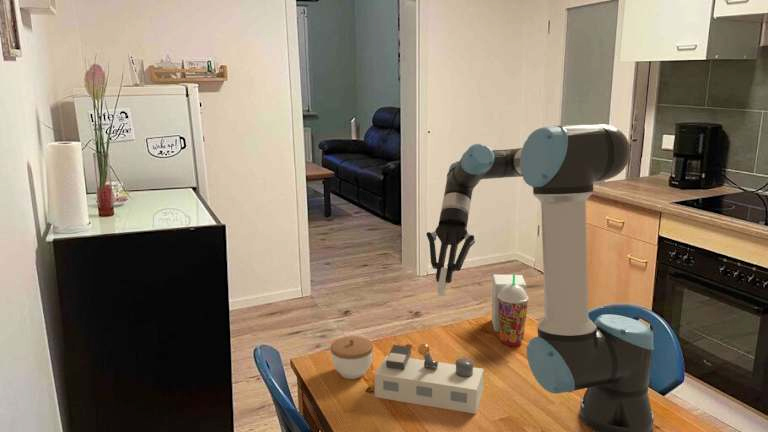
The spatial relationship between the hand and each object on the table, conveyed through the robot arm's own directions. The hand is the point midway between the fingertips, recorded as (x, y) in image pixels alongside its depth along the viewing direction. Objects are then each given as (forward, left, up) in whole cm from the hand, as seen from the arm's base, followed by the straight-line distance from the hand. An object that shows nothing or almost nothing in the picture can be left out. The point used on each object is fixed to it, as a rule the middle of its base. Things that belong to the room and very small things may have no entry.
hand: (441, 293), depth 147 cm
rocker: (-2, +13, -13) cm, 19 cm away
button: (-14, +2, -15) cm, 20 cm away
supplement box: (+13, -32, -21) cm, 41 cm away
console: (-9, +9, -21) cm, 24 cm away
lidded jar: (+9, +21, -21) cm, 31 cm away
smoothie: (+4, -26, -21) cm, 34 cm away
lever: (-8, +8, -14) cm, 18 cm away
